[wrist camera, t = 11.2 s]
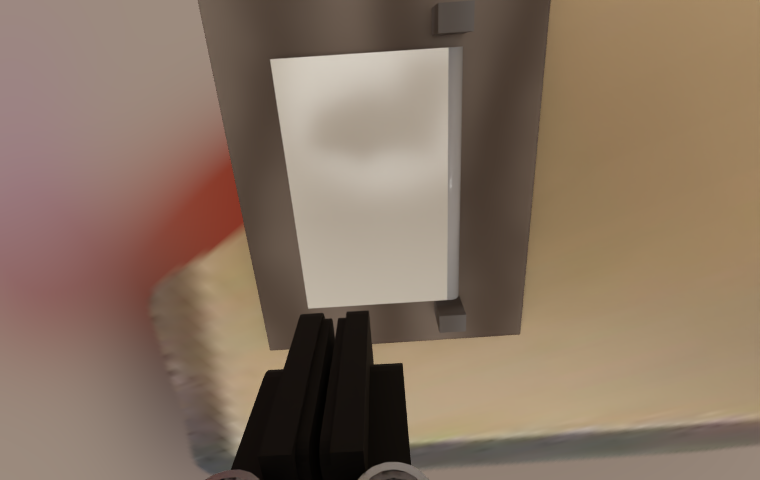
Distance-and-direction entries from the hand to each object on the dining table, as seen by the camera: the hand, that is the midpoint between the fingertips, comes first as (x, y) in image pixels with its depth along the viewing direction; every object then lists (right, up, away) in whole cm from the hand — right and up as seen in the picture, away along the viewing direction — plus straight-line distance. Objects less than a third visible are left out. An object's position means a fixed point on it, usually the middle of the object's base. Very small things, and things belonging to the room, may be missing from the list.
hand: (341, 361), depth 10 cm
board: (+1, +7, +14) cm, 16 cm away
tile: (+1, +6, +12) cm, 13 cm away
